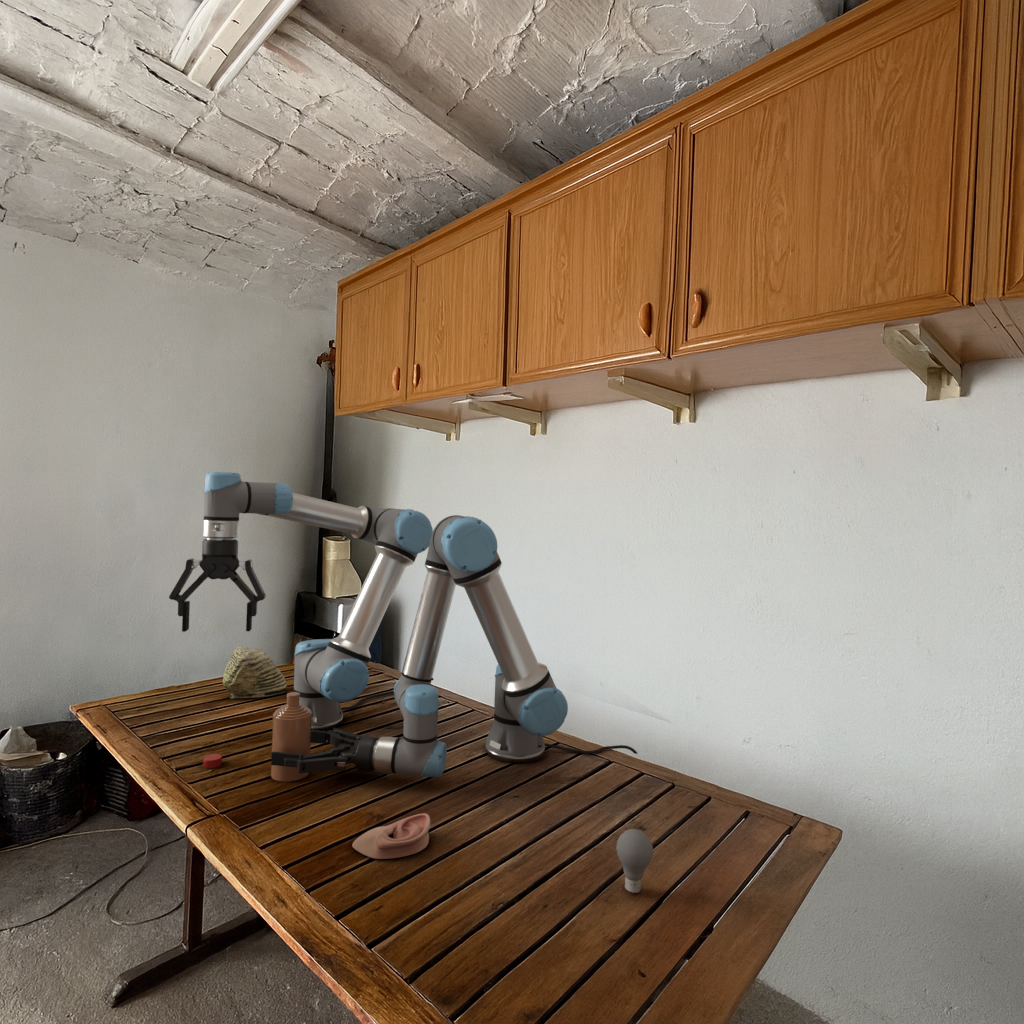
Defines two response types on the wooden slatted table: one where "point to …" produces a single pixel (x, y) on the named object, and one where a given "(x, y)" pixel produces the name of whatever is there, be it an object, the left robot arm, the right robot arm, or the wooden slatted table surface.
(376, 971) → the wooden slatted table surface
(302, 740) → the bottle
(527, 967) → the wooden slatted table surface
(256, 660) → the fossil
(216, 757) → the cap
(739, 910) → the wooden slatted table surface
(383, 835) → the anatomical model
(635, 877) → the light bulb
